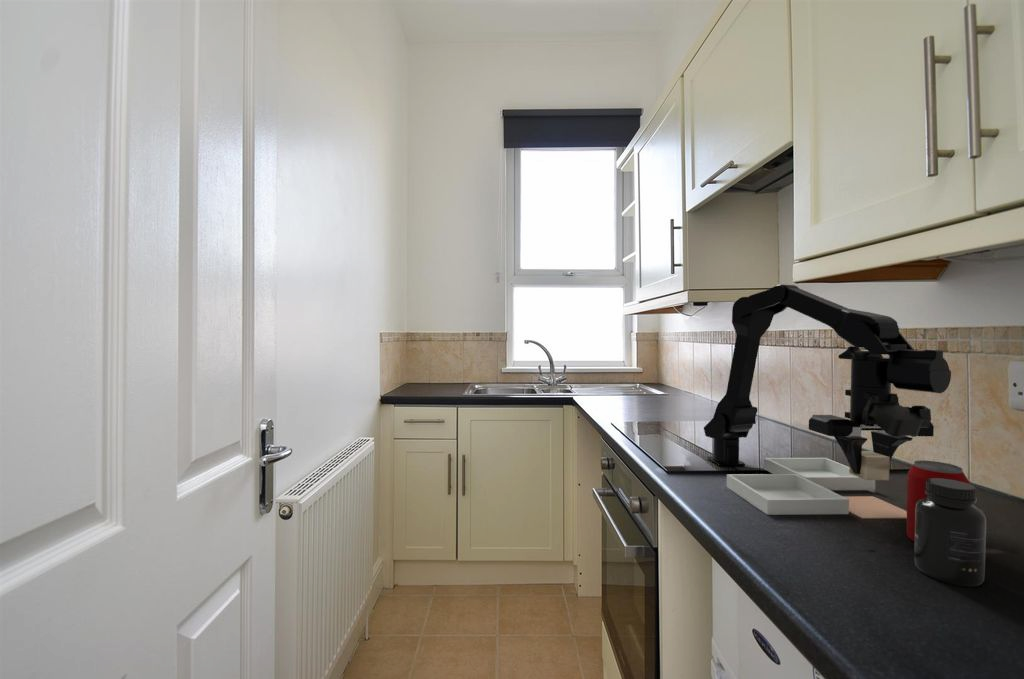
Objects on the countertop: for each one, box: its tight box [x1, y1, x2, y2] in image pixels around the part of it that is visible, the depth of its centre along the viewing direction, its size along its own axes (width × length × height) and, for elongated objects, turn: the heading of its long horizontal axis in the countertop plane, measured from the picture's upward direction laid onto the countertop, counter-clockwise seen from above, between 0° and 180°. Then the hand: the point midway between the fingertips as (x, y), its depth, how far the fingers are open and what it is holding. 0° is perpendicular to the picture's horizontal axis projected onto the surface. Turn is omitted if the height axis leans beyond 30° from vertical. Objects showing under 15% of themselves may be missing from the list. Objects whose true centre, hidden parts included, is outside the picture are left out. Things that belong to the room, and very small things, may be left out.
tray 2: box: [763, 457, 876, 493], centre depth 100 cm, size 14×14×3 cm
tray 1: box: [726, 473, 850, 516], centre depth 88 cm, size 14×14×3 cm
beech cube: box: [848, 450, 891, 481], centre depth 84 cm, size 4×4×4 cm
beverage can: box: [906, 460, 970, 543], centre depth 70 cm, size 7×7×12 cm
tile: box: [844, 495, 907, 520], centre depth 84 cm, size 10×10×1 cm
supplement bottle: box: [913, 478, 987, 587], centre depth 62 cm, size 7×7×12 cm
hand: (868, 473), depth 84 cm, fingers closed on beech cube, 4 cm apart
